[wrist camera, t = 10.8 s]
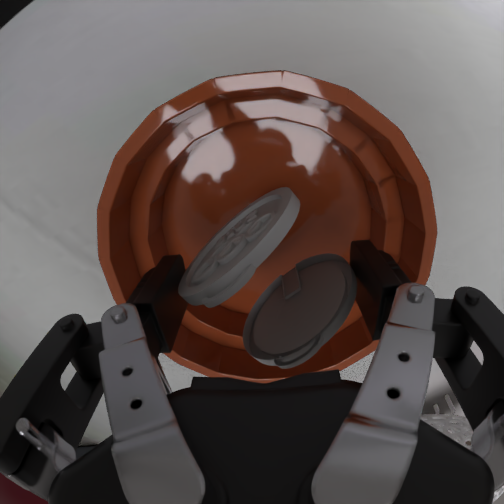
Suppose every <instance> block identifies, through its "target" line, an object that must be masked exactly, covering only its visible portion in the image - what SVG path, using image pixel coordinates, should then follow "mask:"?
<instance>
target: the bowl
mask: <svg viewBox="0 0 504 504" xmlns="http://www.w3.org/2000/svg"><path fill="white" fill-rule="evenodd" d="M282 187H288V188H290V189H291V191H292V192H293V193H294V194H295V195H296V197H297V198H298V199H299V200H300V209H299V213H298V215H297V218H296V220H295V221H294V223H293V225H292V227H291V228H290V230H289V231H288V233H287V234H286V236H285V237H284V238H283V240H282V241H281V242H280V243H279V245H278V246H277V247H276V248H275V249H274V251H273V252H272V253H271V254H270V255H269V256H268V257H267V258H266V259H265V260H264V261H263V262H262V263H261V264H260V265H259V266H258V267H257V268H256V271H255V273H254V275H253V276H252V277H251V279H250V280H249V281H248V282H247V283H246V284H245V285H244V286H243V287H242V288H241V289H240V290H239V291H238V292H237V293H235V294H234V295H233V296H231V297H230V298H229V299H227V300H226V301H224V302H223V303H221V304H219V305H217V306H215V307H212V308H208V307H206V306H205V305H204V304H202V305H198V306H195V305H191V304H189V303H188V306H187V309H186V311H185V314H184V317H183V320H182V322H181V325H180V328H179V331H178V334H177V336H176V339H175V342H174V345H173V348H172V351H171V353H164V354H165V355H166V356H168V357H169V358H170V359H172V360H173V361H174V362H176V363H178V364H180V365H182V366H184V367H187V368H189V369H191V370H194V371H196V372H198V373H201V374H203V375H206V376H208V377H229V378H234V379H240V380H245V381H251V382H257V383H270V382H274V381H278V380H281V379H285V378H288V377H292V376H295V375H299V374H302V373H311V372H320V371H329V370H337V369H339V371H341V370H343V369H345V368H347V367H348V366H350V365H352V364H353V363H355V362H357V361H359V360H360V359H362V358H364V357H365V356H367V355H369V354H370V353H372V352H373V351H375V350H376V348H377V345H378V342H379V340H375V341H373V340H372V337H371V335H370V332H369V330H368V328H367V325H366V323H365V320H364V318H363V316H362V313H361V311H360V309H359V306H358V304H357V302H356V300H355V301H354V304H353V307H352V309H351V311H350V313H349V315H348V317H347V318H346V320H345V322H344V323H343V324H342V326H341V327H340V328H339V330H338V331H337V332H336V333H335V334H334V335H333V336H332V337H331V338H330V339H329V341H328V342H326V343H325V344H324V345H323V346H322V347H321V348H320V349H319V350H318V351H317V353H316V354H314V355H313V356H312V357H311V358H310V359H308V360H307V361H305V362H304V363H302V364H300V365H298V366H295V367H292V368H288V369H282V368H280V367H278V366H270V365H266V364H263V363H261V362H259V361H257V360H256V359H255V358H254V357H252V356H251V355H250V354H249V353H248V352H247V351H246V349H245V347H244V344H243V330H244V325H245V322H246V319H247V317H248V315H249V313H250V311H251V309H252V307H253V306H254V304H255V303H256V301H257V300H258V298H259V297H260V296H261V294H262V293H263V292H264V291H265V290H266V288H267V287H268V286H269V285H270V284H271V283H272V282H273V281H274V280H275V279H277V278H278V277H279V276H280V275H282V276H284V275H285V274H286V273H288V272H289V271H290V270H292V269H293V268H295V267H296V266H295V264H297V263H299V262H301V261H302V260H305V259H307V258H309V257H312V256H315V255H319V254H327V253H331V254H337V255H339V256H341V257H343V258H344V259H345V260H346V261H347V262H348V264H349V262H350V245H351V242H352V241H356V240H370V241H371V242H372V244H373V245H374V246H375V247H376V249H377V250H383V251H384V252H386V253H388V254H389V255H391V256H392V258H393V259H394V260H395V261H396V263H397V264H398V265H399V266H400V268H401V269H402V270H403V271H404V273H405V274H406V275H407V277H408V278H409V279H410V281H411V282H412V283H419V284H422V285H425V284H426V282H427V281H428V278H429V275H430V271H431V266H432V261H433V256H434V250H435V244H436V238H437V223H436V216H435V209H434V203H433V197H432V191H431V186H430V181H429V178H428V176H427V174H426V172H425V170H424V169H423V167H422V165H421V163H420V161H419V160H418V158H417V156H416V154H415V153H414V151H413V149H412V147H411V146H410V144H409V142H408V141H407V139H406V138H405V136H404V134H403V133H402V131H401V130H400V129H399V128H398V127H397V126H396V125H395V124H394V123H392V122H391V121H390V120H389V119H388V118H386V117H385V116H384V115H383V114H382V113H380V112H379V111H378V110H377V109H375V108H374V107H373V106H371V105H370V104H369V103H368V102H366V101H365V100H364V99H362V98H361V97H359V96H358V95H357V94H355V93H354V92H353V91H351V90H349V89H348V88H345V87H342V86H339V85H336V84H333V83H329V82H326V81H323V80H319V79H316V78H312V77H309V76H305V75H301V74H297V73H293V72H289V71H285V70H283V71H281V70H278V71H264V72H253V73H243V74H235V75H228V76H221V77H215V78H214V79H209V80H207V81H205V82H203V83H201V84H199V85H197V86H195V87H193V88H191V89H189V90H187V91H186V92H184V93H182V94H180V95H178V96H176V97H174V98H173V99H171V100H169V101H167V102H166V103H164V104H162V105H160V106H159V107H157V108H156V109H155V110H153V111H152V112H151V113H150V114H149V115H148V116H147V117H146V119H145V120H144V121H143V122H142V123H141V124H140V125H139V127H138V128H137V129H136V130H135V131H134V132H133V134H132V135H131V136H130V137H129V139H128V140H127V141H126V142H125V143H124V145H123V146H122V147H121V148H120V150H119V151H118V152H117V154H116V155H115V158H114V159H113V162H112V165H111V168H110V170H109V173H108V176H107V179H106V182H105V185H104V188H103V191H102V194H101V197H100V200H99V204H98V209H97V239H98V257H99V261H100V264H101V267H102V270H103V272H104V275H105V278H106V281H107V283H108V286H109V289H110V291H111V294H112V296H113V299H114V301H115V303H116V304H117V305H118V304H122V303H126V301H127V300H128V298H129V297H130V295H131V294H132V292H133V291H134V289H135V288H136V286H137V285H138V283H139V282H140V280H141V279H142V277H143V276H144V274H145V273H147V272H148V271H149V270H150V269H152V268H153V267H156V266H157V264H158V263H159V261H160V260H161V258H162V257H163V256H166V255H178V254H180V255H181V256H182V258H183V261H184V265H185V269H186V270H187V268H188V267H189V265H190V264H191V262H192V261H193V260H194V258H195V257H196V256H197V254H198V253H199V252H200V251H201V250H202V248H203V247H204V246H205V245H206V244H207V243H208V242H209V240H210V239H211V238H212V237H213V236H214V235H215V234H216V233H217V232H218V231H219V230H220V229H221V228H222V227H223V226H224V225H226V224H227V223H228V222H229V221H230V220H231V219H232V218H233V217H235V216H236V215H237V214H238V213H239V212H241V211H242V210H243V209H244V208H246V207H247V206H248V205H250V204H251V203H253V202H254V201H255V200H257V199H258V198H260V197H262V196H263V195H265V194H267V193H269V192H271V191H273V190H275V189H278V188H282Z"/></svg>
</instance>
